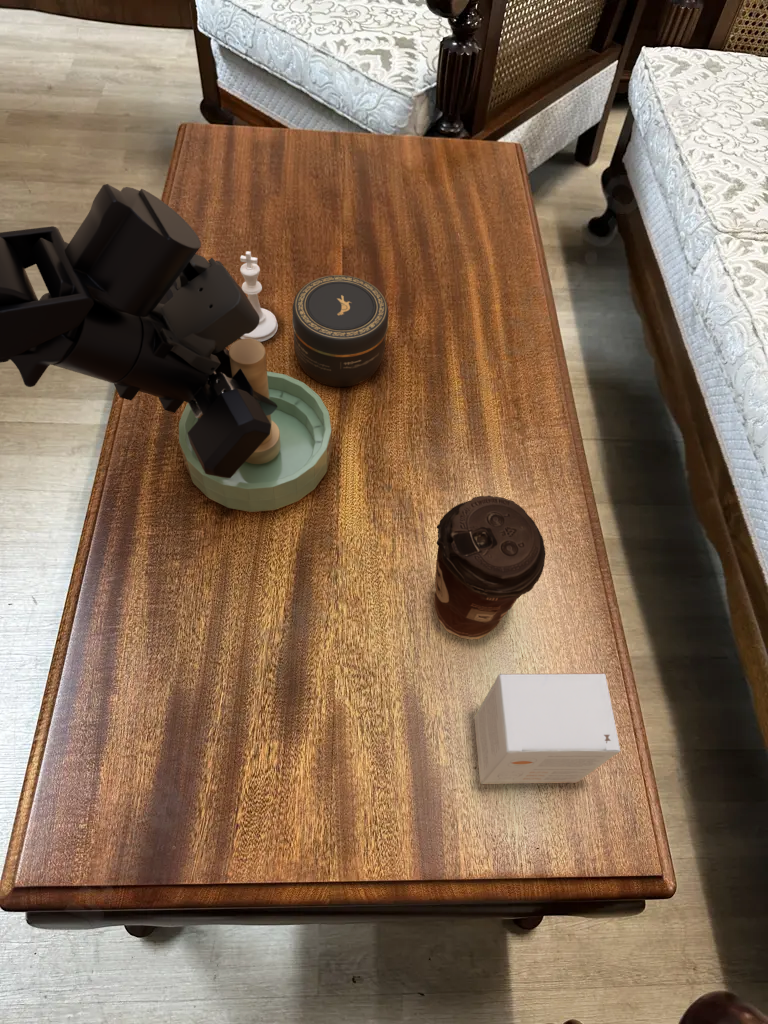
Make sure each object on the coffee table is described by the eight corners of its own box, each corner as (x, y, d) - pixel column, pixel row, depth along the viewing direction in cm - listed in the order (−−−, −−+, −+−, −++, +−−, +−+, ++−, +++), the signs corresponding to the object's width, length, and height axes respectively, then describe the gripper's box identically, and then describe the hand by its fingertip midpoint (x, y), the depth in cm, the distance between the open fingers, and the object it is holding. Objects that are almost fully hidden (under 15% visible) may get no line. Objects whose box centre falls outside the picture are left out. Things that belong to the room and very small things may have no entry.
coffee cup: (405, 629, 63) (423, 558, 52) (434, 552, 67) (456, 472, 57) (500, 664, 62) (538, 599, 51) (523, 584, 66) (563, 508, 55)
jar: (363, 318, 83) (367, 264, 77) (398, 379, 79) (405, 326, 72) (281, 338, 81) (278, 283, 74) (312, 402, 76) (312, 350, 70)
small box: (566, 714, 60) (609, 671, 51) (577, 785, 57) (624, 751, 48) (471, 714, 60) (498, 670, 51) (478, 785, 57) (507, 752, 48)
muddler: (244, 470, 69) (230, 376, 58) (229, 436, 71) (212, 340, 60) (287, 456, 70) (281, 361, 59) (271, 423, 72) (262, 326, 61)
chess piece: (239, 308, 83) (230, 234, 74) (281, 315, 83) (277, 241, 74) (228, 338, 80) (218, 264, 72) (272, 345, 80) (266, 272, 72)
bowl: (156, 475, 70) (147, 447, 66) (238, 381, 77) (234, 351, 73) (282, 538, 67) (280, 512, 63) (355, 434, 74) (357, 406, 70)
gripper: (233, 348, 46) (374, 406, 59) (136, 184, 54) (278, 266, 67) (137, 465, 50) (288, 495, 63) (61, 296, 58) (208, 353, 71)
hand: (266, 396), depth 66 cm, fingers closed on muddler, 3 cm apart
